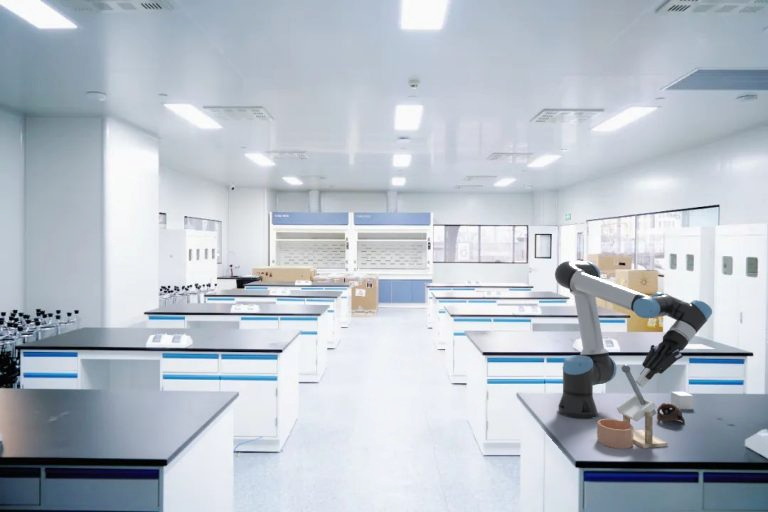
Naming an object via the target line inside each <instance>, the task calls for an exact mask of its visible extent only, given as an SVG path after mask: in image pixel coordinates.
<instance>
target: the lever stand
mask: <svg viewBox="0 0 768 512" xmlns="http://www.w3.org/2000/svg"><path fill="white" fill-rule="evenodd" d="M653 418H654V416H653V413H651V412H645V416H644V430H643V429H633V444H635V445H637V446H639V447H641V448H643V449H650V448H649V447H652V448H662V447H668V442H666V441H665V440H663V439H660V438H659V437H657V436H655V435H653V431H654V430H653V425H654V424H653ZM622 421H624V422H627V423H629V424H631V418H629V417H627V416H624V415H622Z"/></svg>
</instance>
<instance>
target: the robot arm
mask: <svg viewBox="0 0 768 512" xmlns="http://www.w3.org/2000/svg"><path fill="white" fill-rule="evenodd" d="M555 269H556V270H555V272H554V278H555V280H556V282H557V283H558V284H559V285H560V286H561V287H562V288H565V289H568V290H569V293H570V294H571V295H573V297H574V302H575V309H576V314H577V320H578V321H577V322H578V327H579V334H580V338H581V340H580V341H581V346H582V350H581V352H580V354H578V355H569V356H567V357H565V358H564V360H563V362H562V363H563V364H562V395H561V398H560V400H559V404H558V412H559V414H560V415H563V416H565V417H568V418H572V419H580V420H588V419H594V418H597V416H598V408H597V405H596V403H595V399H594V397H593V394H594V392H593V389H594V387H593V386H596V385H600V384H606V383H609V382H611V381H612V380H613V379H614V377H616V374H617V368H618V367H617V364H616V362H615V360H614V359H613V358H612V357H611V356H610V354H609V350H607V349H606V348H605V346H604V340H603V335H602V334H603V333H602V328H601V323H600V322H601V321H600V316H599V311H598V304H597V300H596V299H600V300H603V301H605V302H607V303H611V304H614V305H616V306H618V307H621V308H624V309H626V310H629V311H631V312H634V313H635V314H636V316H638V317H639V318H640V319H641V318H642V319H653V318H658V317H669V318H670V319H672V320H673V319H674V320H675V322H674V323H673V324H671V326H670V327H669V329H668V330H667V331H666V333H664V335H663V336H662V341H661V342H659V343H658V345H654V344H652V345H650V350H649V351H648V353H647V355H646V357H645V358H644V360H643V361H642V363H641V364H642V367H644V369H643V370H642V371H641V372H640V373H639V376H638V377H637V378H636V379H634V380H635V382H636V384H637V386H638V387H641V388H644V387H645V385H646V384H647V383H648V382H649V381H650V380H651V379H652V378H653V377H654V376H655V375H657V374H663V373H664V372H665V371H667V369H669V368H671V366H672V365H673V364H674V363H676V361H679V360H680V359H682V358H683V357H684V356H683V355H682V353H681V351H683V350H684V349H685V348H686V347H687V346H688V344H689V342H691V341H692V339H693V338H694V337H695V336H696V334H697V333H698V332H699V331H700V330H701V328H703V326H704V325H705V324H706V323H707V322H708V320H709V318H710V317H711V315H712V314H713V310H712V307H711V306H710V305H708V304H707V303H706V302H704V301H702V300H699V299H694V300H692V301H691V302H690V303H689V302H686V301H683V300H681V299H678V298H677V297H674V296H672V295H670V294H668V293H664V292H662V291H656V292H654V293H653V294H652V295H651V296H649V295H647V294H645V293H642V292H639V291H635V290H633V289H630V288H628V287H624V286H622V285H618V284H616V283H613V282H611V281H609V280H605V279H602V278H601V271H600V269H599V267H598V266H597V265H596V264H595V263H593V262H591V261H587V260H578V261H577V260H574V261H570V260H569V261H568V260H567V261H564V262H561V263H560V264H559V265H558V266H556V268H555Z"/></svg>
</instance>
